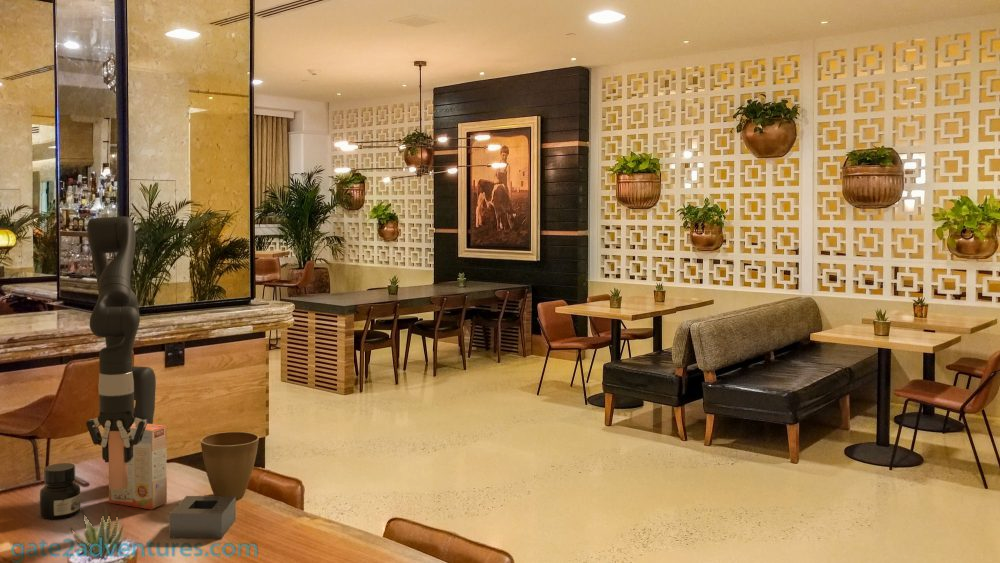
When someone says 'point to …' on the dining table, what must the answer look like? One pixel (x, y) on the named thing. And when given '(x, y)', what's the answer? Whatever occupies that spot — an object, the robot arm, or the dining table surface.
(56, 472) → the ink bottle
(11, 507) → the dining table surface
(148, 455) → the cracker box
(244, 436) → the plant pot
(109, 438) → the peg
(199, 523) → the socket
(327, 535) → the dining table surface
